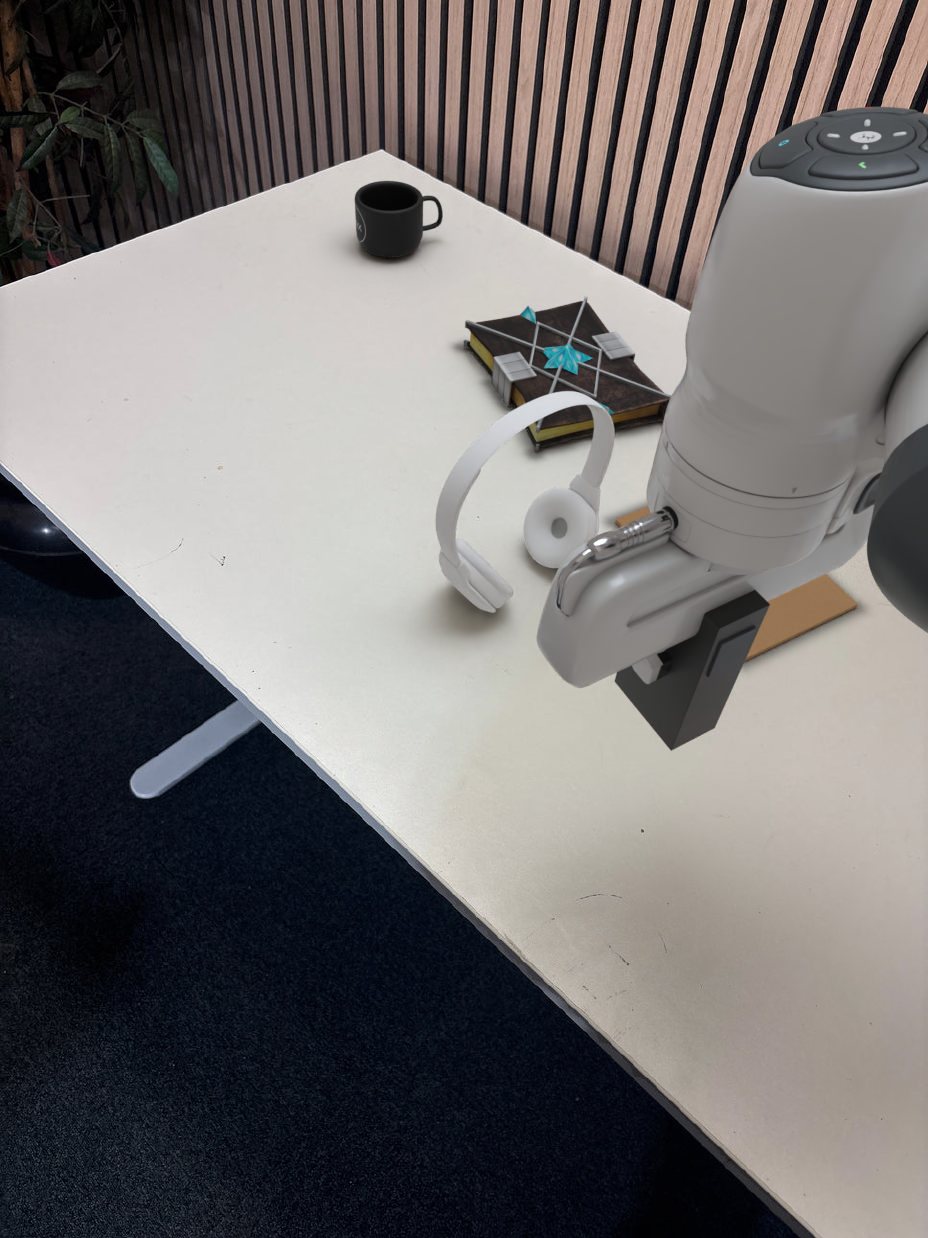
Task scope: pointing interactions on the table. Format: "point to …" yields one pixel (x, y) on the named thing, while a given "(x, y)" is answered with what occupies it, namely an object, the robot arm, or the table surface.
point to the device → (698, 672)
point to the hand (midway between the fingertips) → (681, 656)
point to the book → (565, 369)
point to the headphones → (551, 517)
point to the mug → (391, 218)
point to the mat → (788, 606)
